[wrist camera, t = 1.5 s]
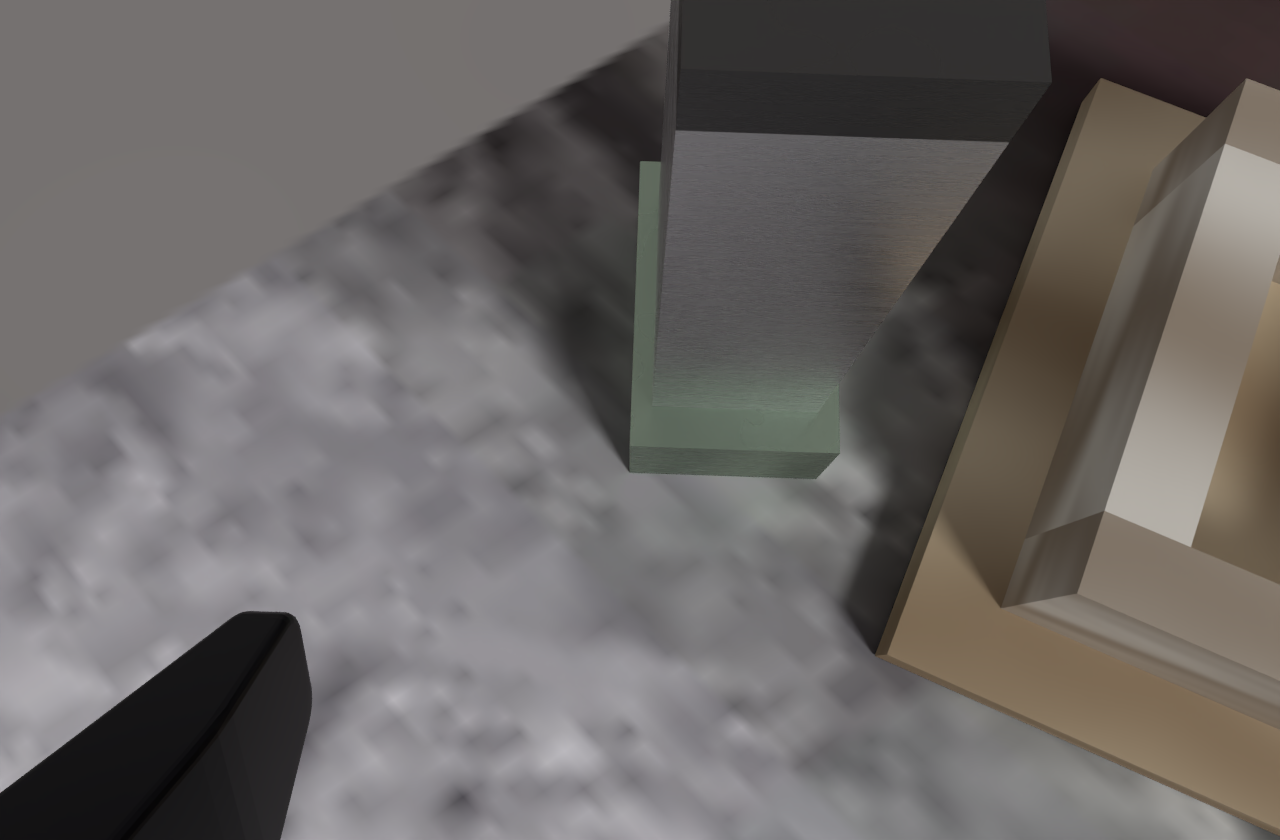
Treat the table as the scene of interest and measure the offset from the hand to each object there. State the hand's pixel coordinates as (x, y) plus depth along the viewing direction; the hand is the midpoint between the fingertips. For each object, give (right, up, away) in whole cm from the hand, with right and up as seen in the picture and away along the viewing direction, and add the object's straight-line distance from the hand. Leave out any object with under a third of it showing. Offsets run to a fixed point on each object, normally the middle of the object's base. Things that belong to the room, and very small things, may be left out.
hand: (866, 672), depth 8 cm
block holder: (+11, +1, +14) cm, 18 cm away
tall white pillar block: (0, +4, +14) cm, 15 cm away
